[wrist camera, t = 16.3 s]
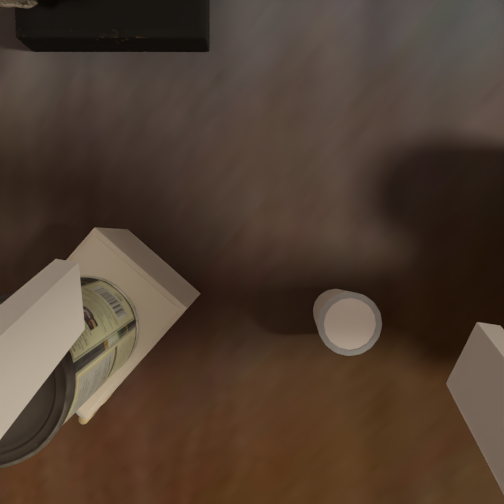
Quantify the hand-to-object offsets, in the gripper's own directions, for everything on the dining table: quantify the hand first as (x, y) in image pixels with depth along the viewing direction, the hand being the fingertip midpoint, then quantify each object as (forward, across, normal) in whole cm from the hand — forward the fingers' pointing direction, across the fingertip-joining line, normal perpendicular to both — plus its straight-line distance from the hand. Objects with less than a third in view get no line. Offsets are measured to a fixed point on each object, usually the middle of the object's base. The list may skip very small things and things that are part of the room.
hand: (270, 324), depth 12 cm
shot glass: (+29, +10, -18) cm, 35 cm away
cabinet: (+27, -16, -21) cm, 38 cm away
